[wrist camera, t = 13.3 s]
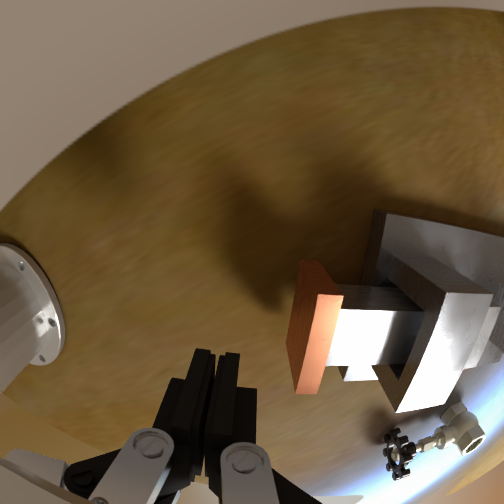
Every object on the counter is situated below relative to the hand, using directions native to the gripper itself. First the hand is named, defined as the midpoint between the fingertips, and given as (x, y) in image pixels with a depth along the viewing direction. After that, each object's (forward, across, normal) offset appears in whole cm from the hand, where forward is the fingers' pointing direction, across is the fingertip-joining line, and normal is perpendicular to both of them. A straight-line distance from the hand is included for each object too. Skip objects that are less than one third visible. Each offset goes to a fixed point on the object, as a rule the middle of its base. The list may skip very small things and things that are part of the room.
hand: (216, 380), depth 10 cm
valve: (+11, -24, +17) cm, 31 cm away
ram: (+8, -11, 0) cm, 14 cm away
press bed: (+11, -19, 0) cm, 22 cm away
